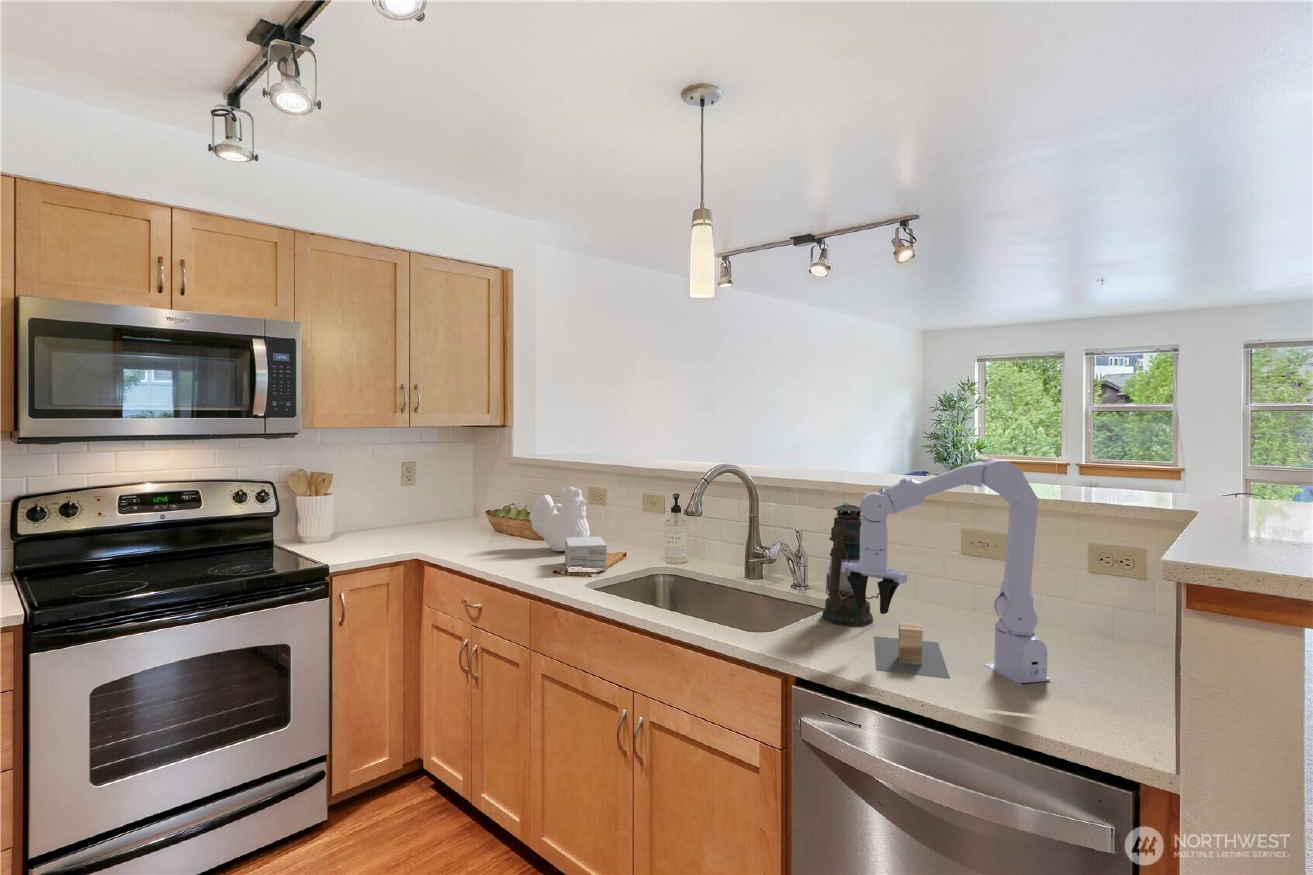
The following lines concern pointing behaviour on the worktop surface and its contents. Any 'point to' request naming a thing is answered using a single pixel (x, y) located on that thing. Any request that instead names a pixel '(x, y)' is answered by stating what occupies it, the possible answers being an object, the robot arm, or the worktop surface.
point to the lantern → (841, 594)
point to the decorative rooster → (560, 518)
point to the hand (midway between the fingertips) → (872, 610)
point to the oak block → (910, 644)
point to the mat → (890, 663)
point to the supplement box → (586, 552)
